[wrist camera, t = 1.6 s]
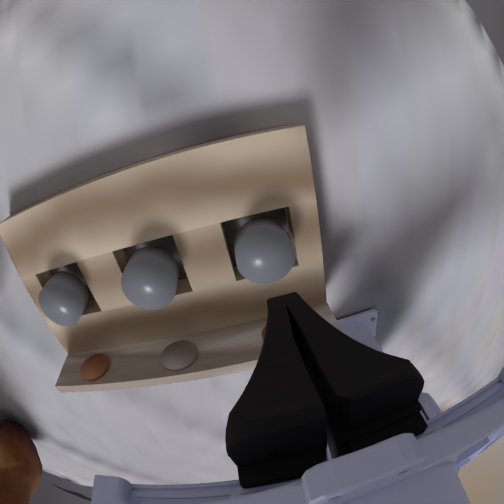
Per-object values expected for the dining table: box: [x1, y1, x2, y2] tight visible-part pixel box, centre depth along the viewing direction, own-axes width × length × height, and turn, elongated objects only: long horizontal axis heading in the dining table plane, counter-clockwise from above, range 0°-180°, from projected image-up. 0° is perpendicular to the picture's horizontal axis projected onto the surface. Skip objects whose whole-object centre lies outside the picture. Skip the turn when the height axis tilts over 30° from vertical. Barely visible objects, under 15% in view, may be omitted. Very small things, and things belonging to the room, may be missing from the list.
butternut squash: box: [0, 420, 42, 504], centre depth 21 cm, size 14×13×25 cm
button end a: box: [234, 218, 296, 284], centre depth 19 cm, size 4×4×2 cm
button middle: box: [121, 246, 179, 310], centre depth 18 cm, size 4×4×2 cm
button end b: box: [39, 271, 89, 326], centre depth 18 cm, size 4×4×2 cm
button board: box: [0, 124, 343, 392], centre depth 18 cm, size 14×23×6 cm, turn 102°
